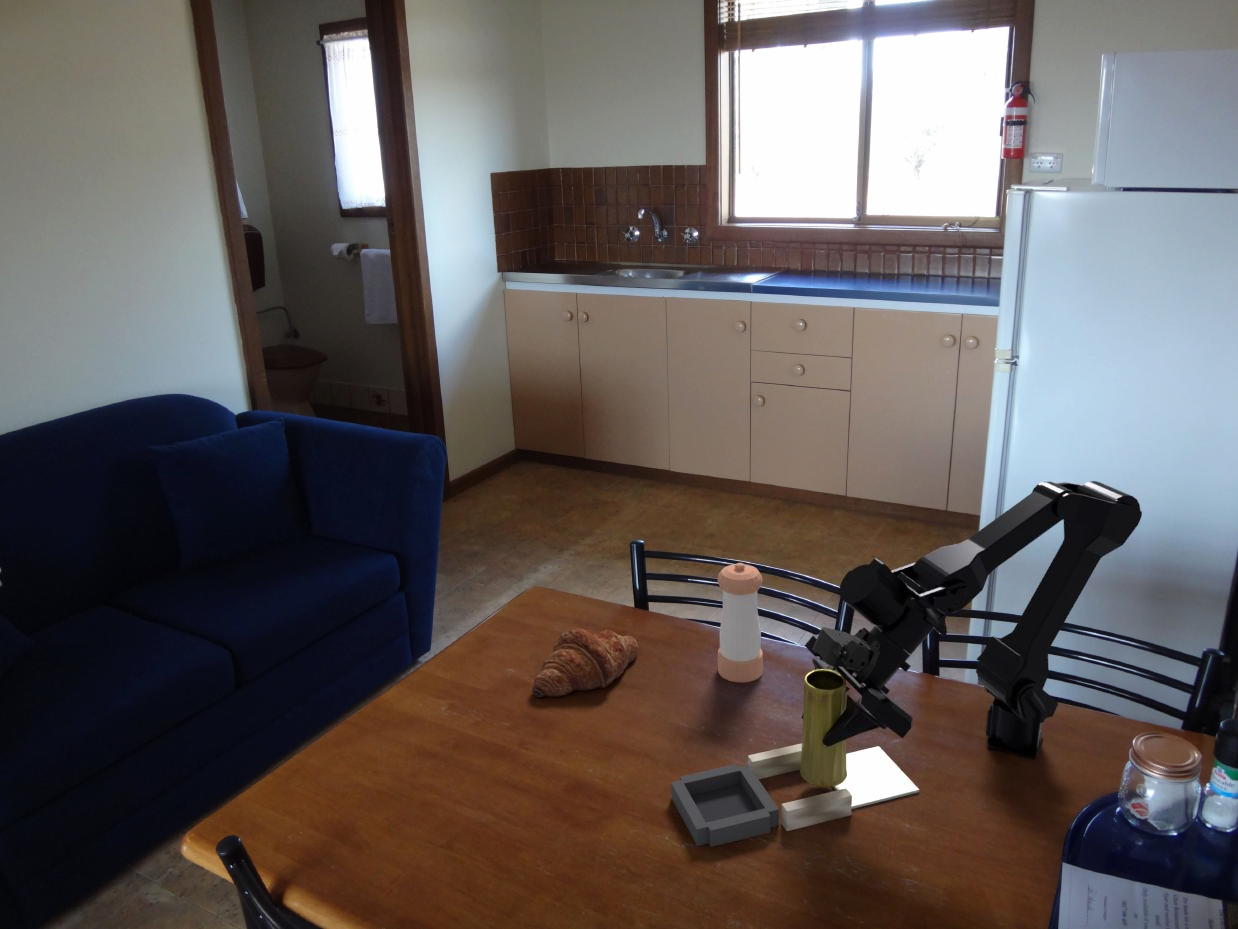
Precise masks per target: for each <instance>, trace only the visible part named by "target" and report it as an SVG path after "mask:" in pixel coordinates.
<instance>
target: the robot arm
mask: <svg viewBox="0 0 1238 929" xmlns="http://www.w3.org/2000/svg"><path fill="white" fill-rule="evenodd" d="M1142 515H1143V510H1141V506H1140V502H1139V500H1138V499H1137V498H1136V497H1134V496H1133V495H1131V494H1128V493H1126V492H1123V491H1122V490H1119V489H1117V488H1114V487H1111V486H1110V485H1107V484H1104V483H1103V482H1101V481H1096V480H1091V481H1087V482H1085V483H1083V484H1081V483H1080V484H1076V483H1070V482H1057V483H1056V482H1052V481H1041V482H1040V483H1038V484H1036V485H1035V486H1034V488H1033V489H1032V491H1031V493H1029V494H1028V495H1026V497H1024V498H1023V499H1022V500H1020V501H1018V502H1017V503H1015V504H1014V505H1013V506H1012V507H1010V508H1009V509H1007V510H1006V511H1005V512H1004V513H1002V514H1001V515H999V516H998V517H997V518H995V519H994V520H993V521H991V522H989V523H988V524H987V525H985V526H984V527H983V528H982V529H980V530H979V531H977V532H976V533H974V534H973V535H972V536H971V537H969V538H968V539H966V540H964V541H961V542H959V543H954V544H948V545H944V546H941V547H938V548H937V549H934V550H932V551H930V552H929V553H927V554H925V555H923V556H921V557H920V558H919V559H917V561H916V562H915V561H914V562H912V563H909V564H907V565H904V566H900V567H898V568H895V569H892V570H891V568H890V567H889V566H887V565H886V564H885V563H884V562H883V561H882V560H880V559H878V558H877V557H874V558H873V560H872V561H871V562H870V563H869V564H861V565H858V566H856V567H854V568H853V569H851V570H849V571H847V573H846V574H845V575H844V577H843V579H842V580H841V582H840V585H839V590H838V592H839V597H840V598H841V600H842V602H844V603H845V604H846V605H848V606H849V607H850V608H851V609H852V610H854V611H855V612H857V613H858V614H859V615H860V616H861V617H863V618H864V619H865V620H866V621H868V622H869V623H870V624H872V625H874V626H872V628H871V629H870V630H868V629H867V628H866V627H863V628H860V629H858V631H857V632H856V633H855V634H854V635H853V634H851V633H848V632H845V631H842V630H838V629H834V628H829V627H825V626H822V627H821V629H820V631H819V632H818V634H814V635H812V636H811V637H810V639H808V641H807V642H806V643H805V644H804V647H805V649H807V650H808V651H809V652H810V653H811V654H812V655H813V656H814V657H815V658H816V657H818V658H817V659H815V658H812V664H813V666H814V670H817V669H828V670H833V671H836V672H838V673H840V674H841V675H842V676H844V678H845V680H846V681H847V683H848V684H849V685H850V686H851V687H852V688H853V689H854V690H855V691H856V692H858V694H859V695H860V696H861V697H860V698H859V699H858V700H856V699H854V698H853V697H851V696H850V695H849V694H846V709H845V711H844V712H843V713H842V715H841V716H840V717H839V718H838V720H837V721H836V722H835V724H834V725H833V726H832V727H831V729H830V730H829V731H828V733H827V734H826V736H825V737H824V739H823V741H822V743H823V744H824V745H826V746H827V747H829V746H832V745H834V744H836V743H839V742H841V741H844V740H846V741H847V740H848V739H850V738H853V737H856V736H857V735H858V736H859V735H860V734H863V733H867V732H870V731H873V730H876V729H880V728H881V729H882V730H883V731H885V730H886V729H889V730H890V731H892V732H893V733H895V734H896V735H897V736H899V737H900V738H901V739H903V738H904V737H905V736H906V735H908V734H909V731H910V730H911V729H912V728H913V726H914V725H913V722H914V717H913V716H912V715H911V714H910V713H909V712H908V711H906V709H905V708H903V707H902V706H901V705H900V704H899V703H898V702H897V701H896V700H894V699H893V698H892V697H890V695H889V694H888V693H890V692H891V690H890V689H889V688H888V687H887V686H886V685H887V684H888V682H890V681H891V679H892V677H894V675H895V674H896V673H897V672H898V671H899V670H900V669H901V670H903V671H904V672H905V673H907V671H908V670H909V669H910V668H911V665H910V664H909V663H908V662H907V660H908V659H909V658H911V656H912V655H913V653H914V652H915V651H916V650H917V648H918V647H919V646H920V645H921V644H922V643H923V641H924V640H925V639H926V638H927V637H928V636H929V635H930V633H931V632H932V631H933V630H935V631H936V632H937V633H939V634H940V635H941V636H944V637H945V636H947V634H948V629H947V628H948V627H947V623H946V617H947V615H946V614H945V613H951V614H954V613H957V612H959V611H961V610H963V609H964V608H966V607H967V606H968V605H969V604H970V603H971V602H972V601H973V600H974V599H975V598H976V597H977V596H978V595H979V594H980V593H981V592H982V591H983V590H984V588H985V585H986V582H987V579H988V576H989V575H990V574H992V573H993V572H994V571H995V570H996V569H997V568H998V567H1000V566H1001V565H1002V564H1004V563H1005V562H1007V561H1008V560H1009V559H1011V558H1012V557H1013V556H1015V555H1016V554H1018V553H1019V552H1020V551H1022V550H1023V549H1025V547H1028V546H1029V545H1030V544H1031V543H1032V542H1034V541H1035V540H1037V539H1039V537H1041V536H1042V535H1044V534H1045V533H1046V532H1048V531H1049V530H1050V529H1052V528H1053V527H1054V526H1056V525H1057V524H1059V523H1060V522H1061V521H1063V541H1062V542H1061V545H1060V546H1059V548H1058V550H1057V552H1056V554H1055V556H1054V557H1053V558H1052V561H1051V562H1050V565H1049V566H1048V567H1047V570H1046V571H1045V573H1044V575H1043V577H1042V579H1041V580H1040V582H1039V584H1038V585H1037V587H1036V588H1035V591H1034V593H1033V594H1032V596H1031V599H1030V600H1029V601H1028V603H1027V605H1026V607H1025V609H1024V611H1023V612H1022V615H1021V616H1020V617H1019V620H1018V621H1017V623H1016V625H1015V627H1014V629H1013V630H1011V632H1009V633H1007V634H1005V635H1004V636H1002V637H1000V638H997V636H994V635H993V636H991V637H990V638H989V639H988V640H987V643H986V646H985V648H984V650H983V651H982V652H981V654H980V655H979V656H978V657H977V658H976V660H977V661H978V663H977V666H976V670H975V673H976V674H977V679H978V681H979V683H980V684H981V685H982V686H983V687H984V692H986V694H987V693H988V694H990V695H991V696H992V697H994V699H993V701H992V702H990V703H989V706H988V709H987V712H986V713H987V714H986V715H987V716H986V724H985V736H986V737H987V740H986V747H987V748H989V749H993V750H997V751H1001V752H1004V753H1009V754H1013V755H1017V756H1020V757H1024V758H1028V759H1032V760H1034V759H1035V760H1036V759H1037V757H1038V754H1039V750H1040V745H1041V740H1042V737H1043V732H1042V725H1043V723H1045V720H1046V719H1048V718H1052V717H1054V714H1055V712H1056V710H1057V708H1058V706H1059V703H1058V701H1056V700H1055V699H1054V698H1053V697H1052V696H1051V695H1050V694H1049V693H1048V692H1047V691H1046V690H1044V687H1045V684H1046V682H1047V680H1048V677H1049V672H1050V671H1049V667H1050V666H1049V651H1050V648H1051V646H1052V645H1053V643H1054V641H1055V640H1056V637H1057V636H1058V635H1059V633H1060V630H1062V627H1063V626H1064V624H1065V622H1066V621H1067V619H1068V617H1069V615H1070V613H1071V611H1072V610H1073V608H1074V606H1075V604H1076V602H1077V600H1078V599H1079V597H1080V595H1081V594H1082V592H1083V590H1084V589H1085V587H1086V585H1087V583H1088V581H1089V580H1090V578H1091V576H1092V574H1093V573H1094V571H1095V569H1096V567H1097V565H1098V564H1099V562H1100V560H1101V559H1102V558H1103V557H1104V556H1107V555H1108V554H1110V553H1112V552H1113V551H1115V550H1116V549H1119V548H1121V547H1122V546H1123V545H1125V543H1126V542H1127V541H1128V539H1129V538H1130V536H1131V535H1132V534H1133V532H1134V531H1135V529H1136V528H1137V527H1138V525H1139V524H1140V521H1141V519H1142ZM848 684H846V693H847V692H848V691H850V690H851V688H850V687H849V686H848ZM803 715H804V711H803V712H802V715H801V719H802V720H803Z"/></svg>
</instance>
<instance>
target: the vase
mask: <svg viewBox="0 0 1238 929" xmlns="http://www.w3.org/2000/svg"><path fill="white" fill-rule="evenodd" d="M803 680H804V681H803V683H804V685H803V712H804V715H803V714H802V715H803V719H802V738H801V743H802V752H801V765H800V770H799V773H800V777H802V779H803V780H805V781H806V782H807V783H808V784H810V785H812V786H815V787H821V788H833V786H837V785H839V784H841V783H842V782H843V781H844V780H845V779H846V777H847V769H846V754H847V739H846V740H844V741H841V742H839V743H836V744H834V745H832V746H829V747H827V746H826V745H824V744H823V743H822V741H823V739H824V737H825V736H826V734H827V733H828V731H829V730H830V729H831V727H832V726H833V725H834V724H835V722H836V721H837V720H838V718H839V717H840V716H841V715H842V713H843V712H844V711H845V709H846V701H847V692H846V685H847V682H846V681H847V680H846V679H845V678H844V676H842V675H841V674H840V673H838V672H836V671H833V670H828V669H817V670H815V669H813V670H810V671H809V672H807V673H806V674H805V676H804V678H803Z"/></svg>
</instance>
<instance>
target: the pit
mask: <svg viewBox="0 0 1238 929" xmlns="http://www.w3.org/2000/svg"><path fill="white" fill-rule="evenodd" d="M670 786H671V787H670V788H671V789H670V790H671V791H670V793H671V800H672V801H673V804H674V805H675V807H676V810H677V811H678V813H679V815H680V817H681V818H682V820H683V822H684V824H685V826H686V828H687V829H688V831H689V833H690V836H691V837H692V839H693V842H694V843H695V845H696V847H699V846H703V845H709V847H710V848H713V847H716V846H717V847H718V846H721V845H726V844H730V843H734V842H737V841H741V840H747V839H749V838H753V837H757V836H760V835H761V836H762V835H764V834H769V833H771V828H774V827H779V826H780V809H779V807H778V806H777V804H776V803H775V801H774V800H773V799H772V797H771V796H770V794H769V793H768V791H767V790H766V789H765V787H764V785H763V784H762V783H761V781H760V779H758V778H757V777H756V775H755V774H754V772H753V771H752V769H751V768H750V767H749V765H748V764H746V765H742V766H738V765H737V763H734V764H730V765H726V766H721V767H717V768H711V769H708V770H704V771H703V770H702V771H699V772H694V773H689V774H685V775H681V776H679V780H676V781H672V782H670Z"/></svg>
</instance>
